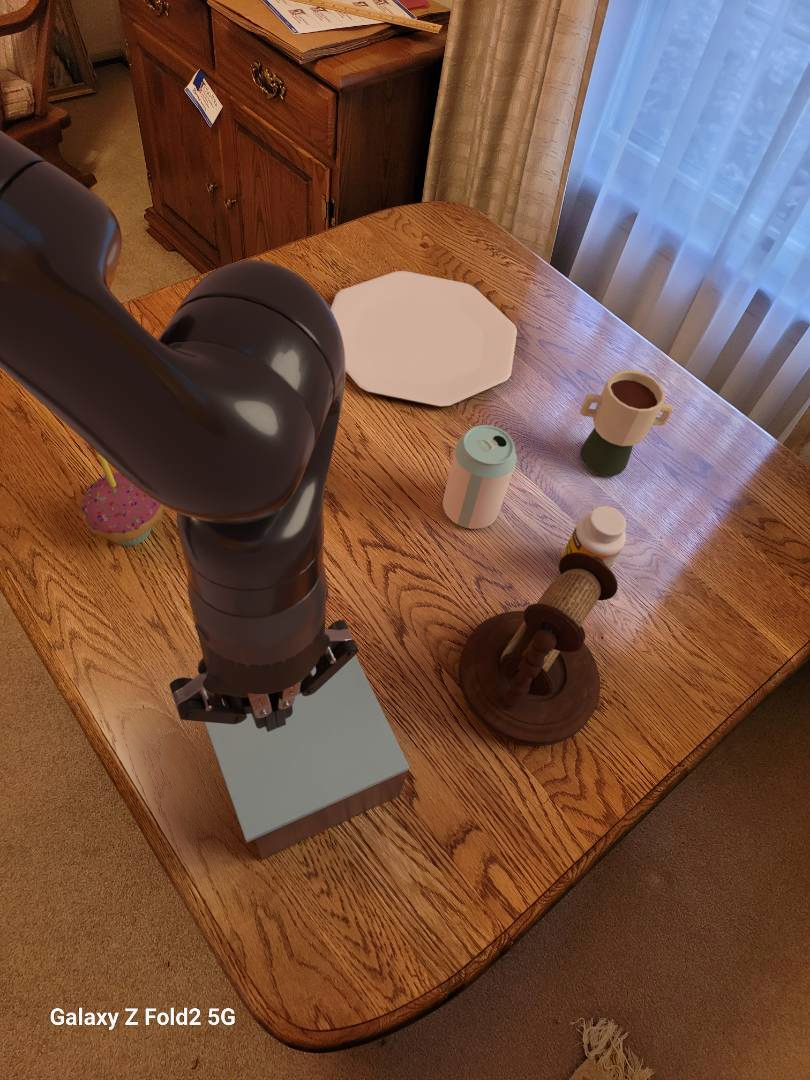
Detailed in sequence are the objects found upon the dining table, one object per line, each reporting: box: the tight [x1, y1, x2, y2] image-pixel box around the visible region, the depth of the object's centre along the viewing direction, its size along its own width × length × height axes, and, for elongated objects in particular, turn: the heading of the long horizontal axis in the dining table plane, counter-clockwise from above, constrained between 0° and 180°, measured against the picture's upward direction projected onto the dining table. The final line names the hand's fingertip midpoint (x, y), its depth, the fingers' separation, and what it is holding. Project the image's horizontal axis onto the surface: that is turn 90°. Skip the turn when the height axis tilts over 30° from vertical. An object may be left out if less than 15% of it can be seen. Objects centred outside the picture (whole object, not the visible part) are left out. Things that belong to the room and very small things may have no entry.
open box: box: [254, 770, 409, 861], centre depth 68 cm, size 14×12×8 cm
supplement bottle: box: [558, 505, 627, 570], centre depth 84 cm, size 6×6×10 cm
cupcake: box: [81, 453, 165, 547], centre depth 80 cm, size 9×8×12 cm
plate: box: [330, 270, 518, 408], centre depth 108 cm, size 28×28×2 cm
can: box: [442, 424, 518, 530], centre depth 87 cm, size 7×7×12 cm
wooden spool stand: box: [458, 552, 619, 747], centre depth 71 cm, size 15×15×20 cm
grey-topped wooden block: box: [204, 654, 410, 843], centre depth 64 cm, size 15×12×1 cm
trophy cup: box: [579, 369, 674, 478], centre depth 93 cm, size 11×7×13 cm, turn 86°
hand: (271, 717), depth 57 cm, fingers closed
